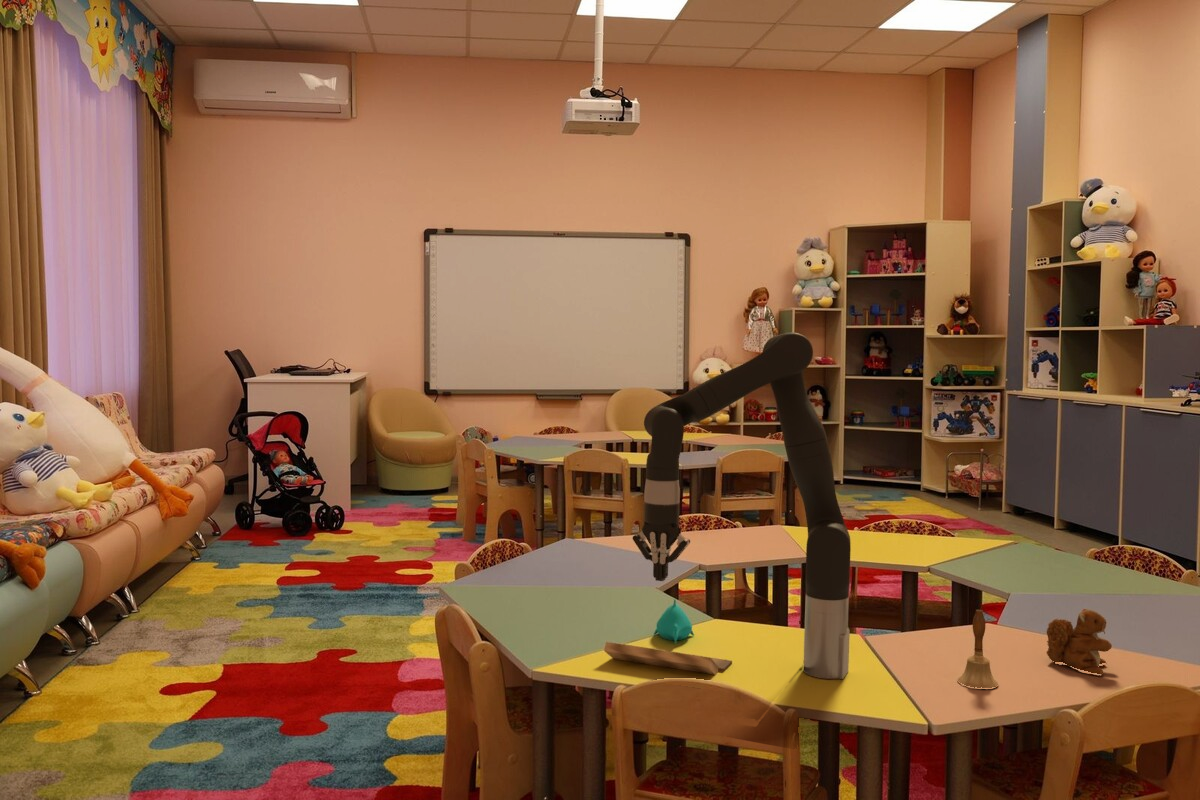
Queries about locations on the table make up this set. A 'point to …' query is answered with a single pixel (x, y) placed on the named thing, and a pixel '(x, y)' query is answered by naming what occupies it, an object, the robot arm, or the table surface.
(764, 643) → the table surface
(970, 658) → the hand bell
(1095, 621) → the stuffed squirrel
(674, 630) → the toy shark
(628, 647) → the plank
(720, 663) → the base strip
